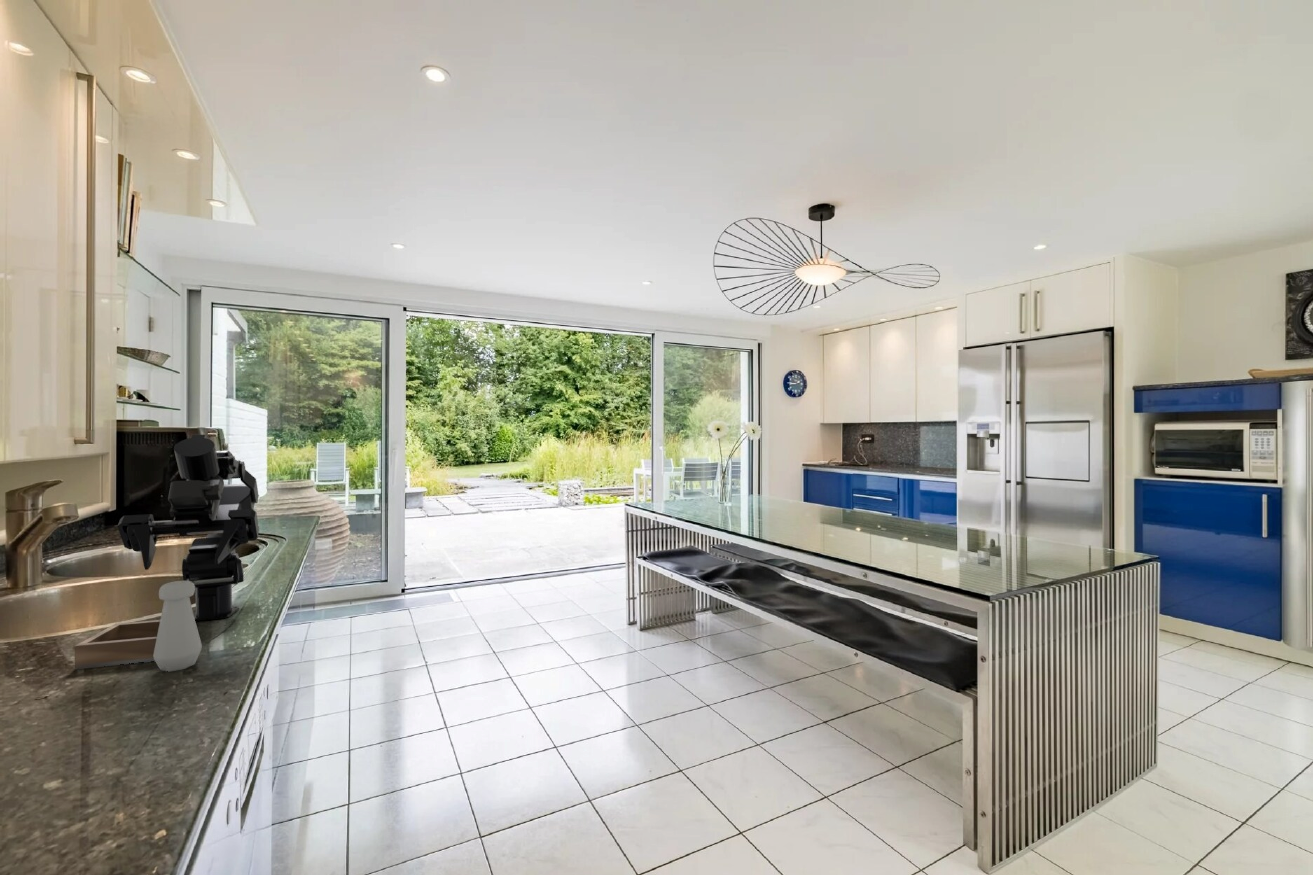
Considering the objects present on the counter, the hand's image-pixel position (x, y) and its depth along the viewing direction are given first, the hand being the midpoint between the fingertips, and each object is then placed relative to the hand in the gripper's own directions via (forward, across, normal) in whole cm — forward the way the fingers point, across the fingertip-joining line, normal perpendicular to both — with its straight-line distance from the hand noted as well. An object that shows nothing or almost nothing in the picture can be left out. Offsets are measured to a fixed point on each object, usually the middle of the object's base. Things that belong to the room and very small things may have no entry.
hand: (181, 564), depth 96 cm
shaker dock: (+6, -7, +14) cm, 16 cm away
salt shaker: (+14, +1, +8) cm, 16 cm away
